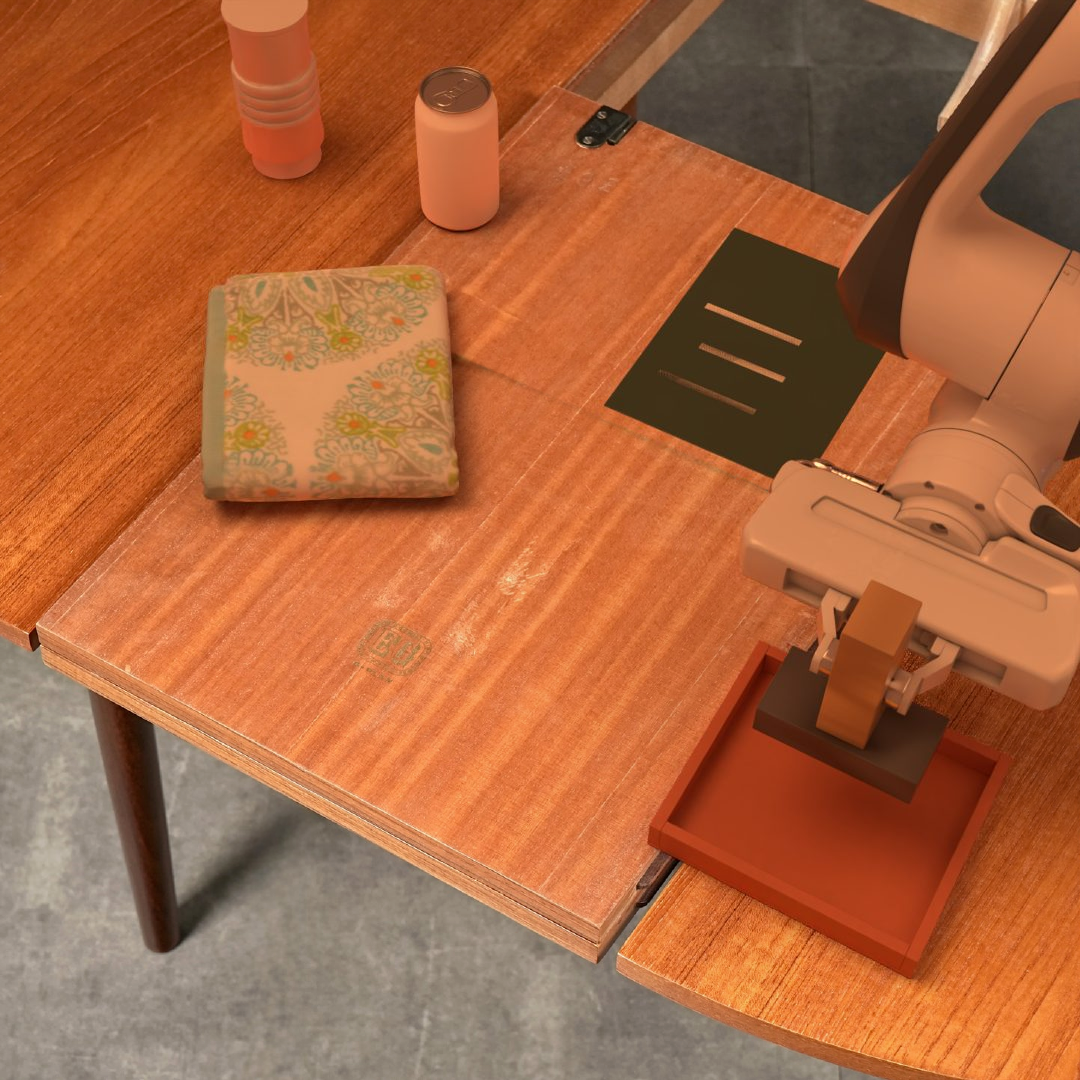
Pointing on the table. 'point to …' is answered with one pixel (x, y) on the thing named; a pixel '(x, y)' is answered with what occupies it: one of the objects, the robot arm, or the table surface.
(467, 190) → the can
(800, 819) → the tray
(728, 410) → the slate board
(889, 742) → the duster
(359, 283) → the towel
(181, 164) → the table surface
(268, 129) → the pink ridged cylinder
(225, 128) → the table surface
